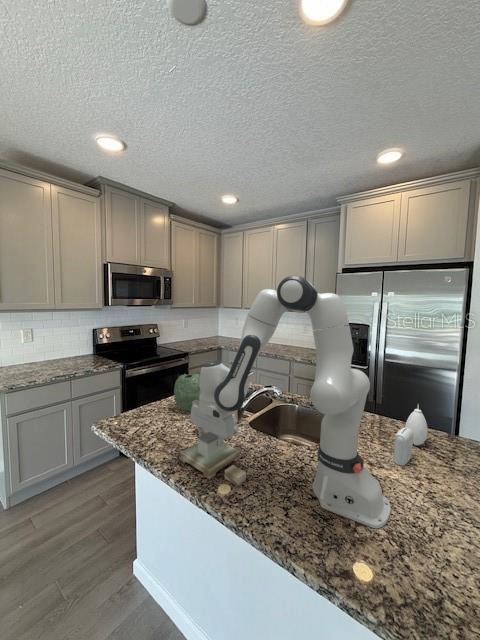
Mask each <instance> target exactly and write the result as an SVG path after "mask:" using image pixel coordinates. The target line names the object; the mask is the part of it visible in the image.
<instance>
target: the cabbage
mask: <svg viewBox="0 0 480 640" xmlns="http://www.w3.org/2000/svg"><path fill="white" fill-rule="evenodd" d="M174 383H175V384H174V389H173V394H174V401H175V404H176V405H177V406H178V407H179V408H180V409H181V410H183V411H185V412H191V408H192V402H193V401H194V400H198V401H199V396H200V386H199V385H200V374H199V373H194V374H193V373H192V374H191V373H190V374H186V373H184V374H181V375H179V376H178V378H177V379H176V381H175V382H174Z"/></svg>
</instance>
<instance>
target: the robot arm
mask: <svg viewBox="0 0 480 640" xmlns="http://www.w3.org/2000/svg"><path fill="white" fill-rule="evenodd" d="M276 289H277V290H275V289H272V288H265V289H262V290H260V291H259V292H258V294H257V295H256V297H255V299H254V300H253V302H252V304H251V307H250V308H249V311H248V312H247V315H246V317H245V320H244V323H243V327H242V333H241V337H240V340H239V341H240V342H239V345H238V350H237V353H236V355H235V357H234V359H233V362H232V364H231V366H230V368H229V367H227V366H226V365H225V364H223V363H222V362H221V361H209V362H208V363H206V364H204V365H203V366H201V368H200V374H199V375H200V385H199V386H200V396H199V401H198V400H194V401H193V402H192V408H191V411H190V415H189V416H190V417H189V418H190V419H189V420H190V423H191V424H193V425H195V426H196V428H197V432H198V437H200V436H202V435H204V434H205V432H204V431H203V429H205V430H207V431H209V432H211V433H213V434H215V435H218V436H219V439H220V440H219V441H217V446H218V447H221V446H222V445H223V443H224V440H228V439H229V440H230V439H231V438H232V437H233V436H234V435H235V434H234V423H235V420H234V416H233V414H234V413H235V412H236V411H238V410H240V409H241V408H242V406H243V405H244V402H245V398H246V396H247V393H248V391H249V388H250V381H249V375H250V372H251V371H252V369H253V366H254V363H255V361H256V359H257V358H258V356H259V355H260V353H261V352H262V351H263V349H264V348H265V347H266V346H267V344H268V343H269V342H270V340H271V339H272V337H273V336H274V334H275V332H276V330H277V328H278V324H279V322H280V320H281V318H282V316H283V315H284V313H287V312H292V313H300V314H301V313H307V315H308V316H309V318H310V322H311V328H312V332H313V333H312V334H313V339H314V340H313V341H314V346H315V352H316V355H315V357H316V365H315V374H314V375H315V376H314V380H313V384H312V386H311V389H310V392H309V395H310V396H309V397H310V401H311V404H312V405H313V407H314V408H315V409H316V410H317V411H318V412H320V413H321V414H323V418H322V420H321V424H320V436H319V438H320V439H319V445H318V448H317V449H318V450H317V461H318V462H317V463H318V464H317V469H316V473H315V477H314V480H313V481H312V482H313V483H312V491H313V493H314V495H315V496H316V498H317V500H318V502H319V505H320V507H321V508H322V509H324V510H327V511H329V512H331V513H334V514H337V515H339V516H341V517H344V518H347V519H349V520H353V521H355V522H357V523H359V524H362V525H365V526H367V527H369V528H373V529H377V530H378V529H381V528H382V527H384V526H385V525H386V524H387V522H388V521H389V519H390V517H391V511H392V510H391V509H392V507H391V503H390V501H389V499H388V498H387V496H385V495H384V494H383V491H382V485H381V484H380V482H379V481H378V480H377V479H376V478H375V477H374V476H373V474H371V473H370V471H368V470H367V469H366V468H365V467H364V462H365V459H366V458H365V457H366V456H365V455H363V456H362V457H361V455H360V454H359V452H358V445H359V431H360V427H361V423H362V418H363V414H364V410H365V406H366V401H367V396H368V394H369V391H370V388H371V383H370V379H369V377H368V375H366V373H365V372H363V371H362V370H360V369H358V368H352V360H353V359H352V358H353V355H354V344H353V339H352V333H351V328H350V325H349V319H348V315H347V311H346V307H345V305H344V303H343V301H342V300H343V299H342V298H341V297H340V295H338V294H336V293H333V292H323V293H318V291H317V290H316V288H315V287H314V285H313V284H312V283H311V282H310V281H309V280H307V279H306V278H304V277H302V276H300V275H289V276H286V277H284V278H283V279H282V280H281V281H280V282H279V284H278V286H277V287H276Z"/></svg>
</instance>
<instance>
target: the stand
mask: <svg viewBox="0 0 480 640" xmlns="http://www.w3.org/2000/svg"><path fill="white" fill-rule="evenodd" d="M240 459H241V450H239V449H237V448H235V447H233V446H232V445H229V444H227V443H226V442H223V449H222V450H221V451H219V452H217V453H216V454H214V455H212V456H211V457H209V458H206V457H204V456H203V455H201V454H199V453H198V442H197V443H195V444H193V445H191V446H190V447H187V448H186V449H184V450H182V451H180V452H179V461H181V462H182V463H184V464H186V463H187V464H189V465H190V466H192V467H193V468H195V469H197V470H198V471H200V472H202V475H203V477H205V478H206V479H208V480H211V479H213V478H214V477H215V476H217V472H219V471H220V470H221V469H223V468H225V467H226V466H228V465H229V464H231V463H232V462H234V463H236V462H237V461H239V460H240Z"/></svg>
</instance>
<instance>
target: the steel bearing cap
mask: <svg viewBox="0 0 480 640" xmlns="http://www.w3.org/2000/svg"><path fill="white" fill-rule="evenodd" d="M238 427H239V425H238V424H237V423H235V422H234V435H237V434H238V432H239V431H238V430H239V428H238Z"/></svg>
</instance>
